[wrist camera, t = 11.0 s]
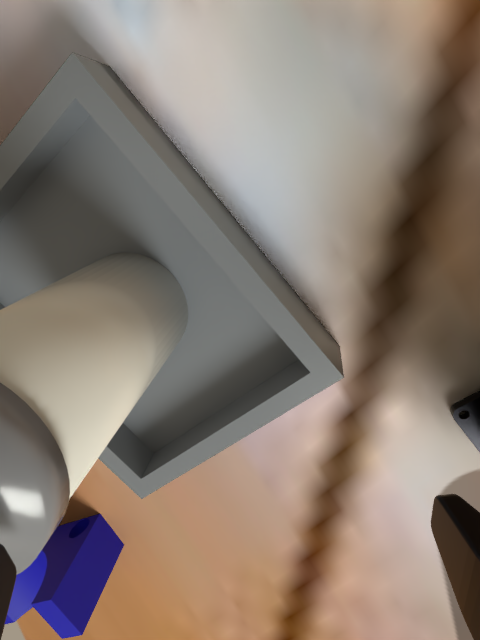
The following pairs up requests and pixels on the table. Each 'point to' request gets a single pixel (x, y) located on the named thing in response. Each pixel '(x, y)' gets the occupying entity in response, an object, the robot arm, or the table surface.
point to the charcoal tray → (170, 251)
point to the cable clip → (68, 575)
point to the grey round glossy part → (75, 383)
